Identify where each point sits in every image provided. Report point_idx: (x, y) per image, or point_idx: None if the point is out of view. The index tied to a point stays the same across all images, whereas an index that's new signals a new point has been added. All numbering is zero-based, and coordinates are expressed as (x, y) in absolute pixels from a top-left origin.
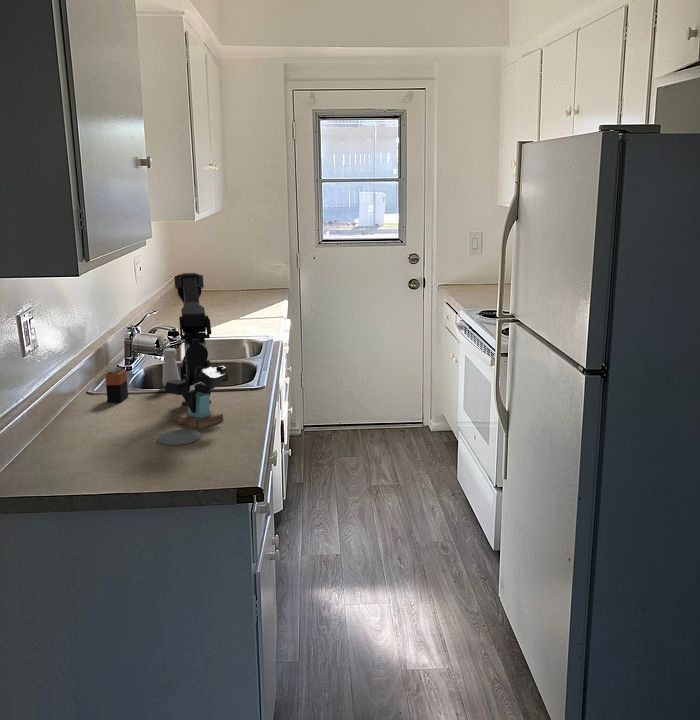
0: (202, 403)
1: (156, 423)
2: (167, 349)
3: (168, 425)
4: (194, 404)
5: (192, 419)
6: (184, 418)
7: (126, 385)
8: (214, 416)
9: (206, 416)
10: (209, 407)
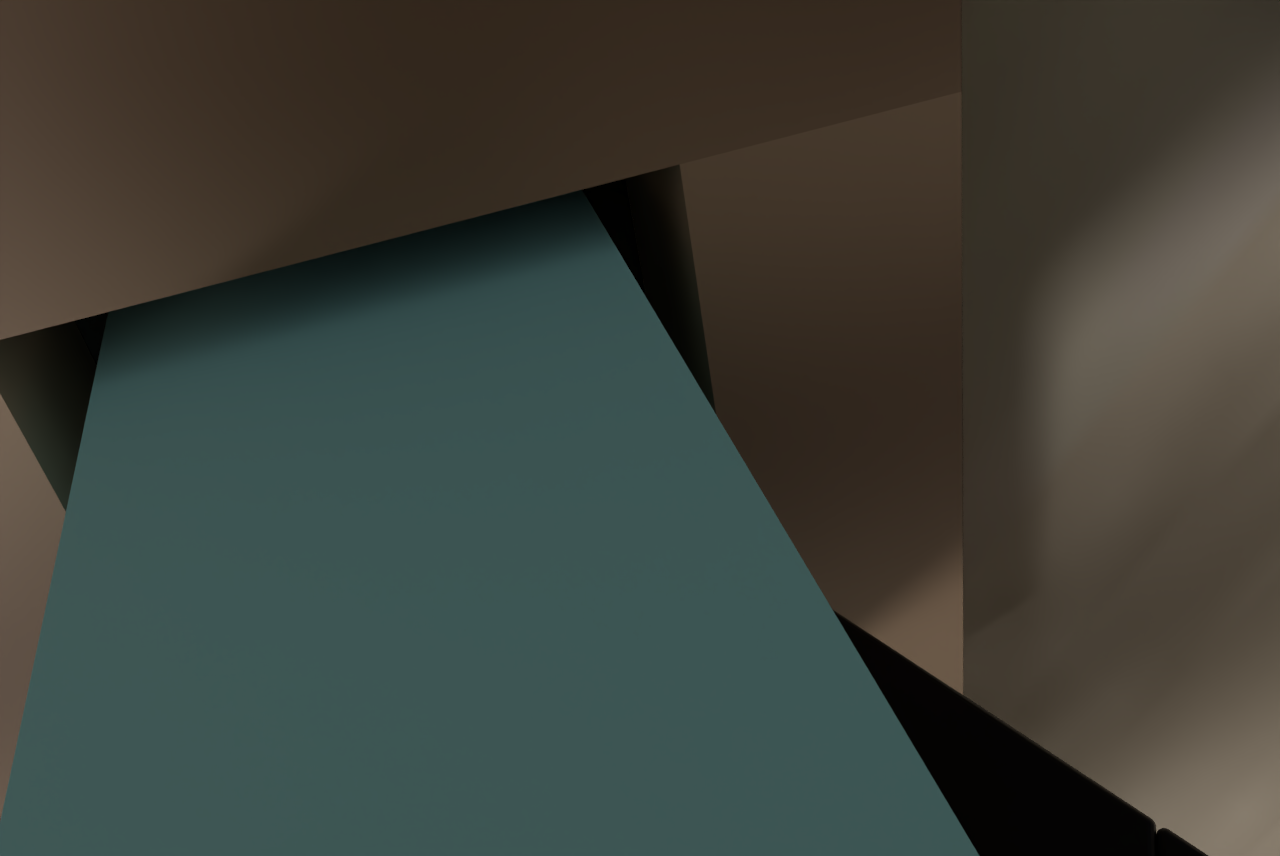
0: (637, 703)
1: (1136, 793)
2: None
3: (1112, 591)
4: (983, 786)
5: (949, 257)
6: (952, 548)
7: None
8: (16, 4)
9: (304, 319)
10: (58, 597)
